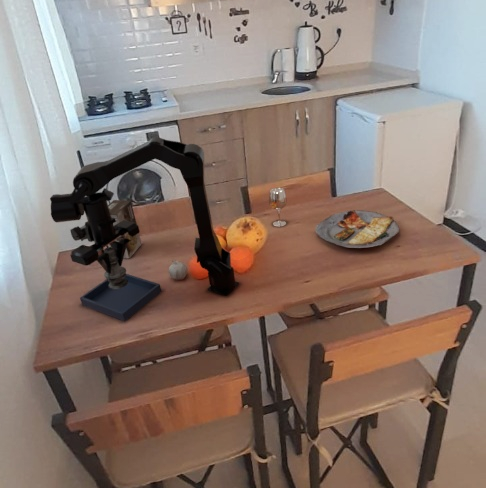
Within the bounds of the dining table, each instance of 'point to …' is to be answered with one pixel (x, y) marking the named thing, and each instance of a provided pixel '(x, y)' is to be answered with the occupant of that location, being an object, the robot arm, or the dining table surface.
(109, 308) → the tray
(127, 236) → the coffee box
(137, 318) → the dining table surface
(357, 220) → the food plate
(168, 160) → the robot arm
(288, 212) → the dining table surface
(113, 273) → the grey tall tiered piece
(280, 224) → the wineglass
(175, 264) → the garlic
